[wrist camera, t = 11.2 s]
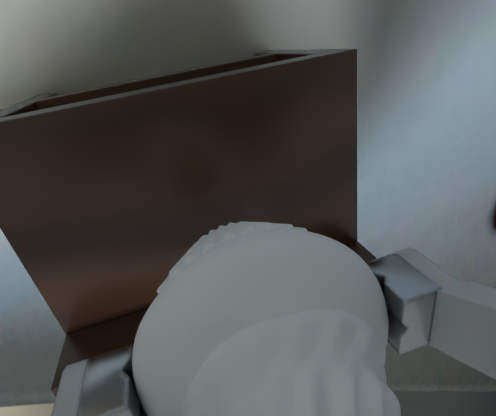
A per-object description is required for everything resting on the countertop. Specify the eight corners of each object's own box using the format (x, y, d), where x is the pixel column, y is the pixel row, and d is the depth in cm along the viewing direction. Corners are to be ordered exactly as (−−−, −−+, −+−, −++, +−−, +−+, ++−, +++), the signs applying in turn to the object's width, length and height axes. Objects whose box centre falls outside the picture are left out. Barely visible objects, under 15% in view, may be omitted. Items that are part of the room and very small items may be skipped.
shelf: (35, 96, 21) (-122, 159, 8) (270, 50, 23) (406, 47, 11) (100, 238, 26) (60, 404, 14) (286, 186, 29) (391, 286, 16)
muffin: (347, 205, 11) (589, 392, 5) (274, 339, 13) (389, 592, 7) (170, 149, 9) (234, 385, 3) (112, 325, 10) (70, 701, 4)
